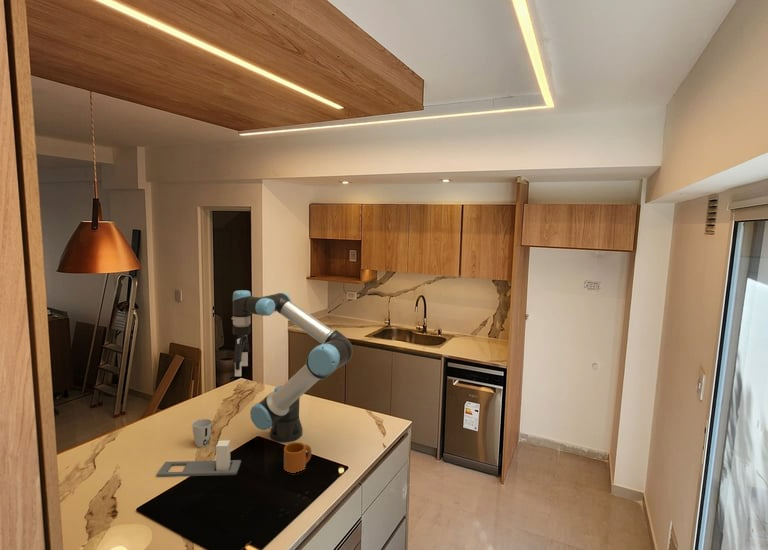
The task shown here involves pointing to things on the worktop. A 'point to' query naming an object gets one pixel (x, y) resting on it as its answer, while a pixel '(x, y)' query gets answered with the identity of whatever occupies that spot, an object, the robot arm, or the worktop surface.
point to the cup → (202, 432)
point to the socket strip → (197, 468)
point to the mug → (296, 457)
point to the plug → (223, 455)
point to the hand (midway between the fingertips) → (241, 370)
